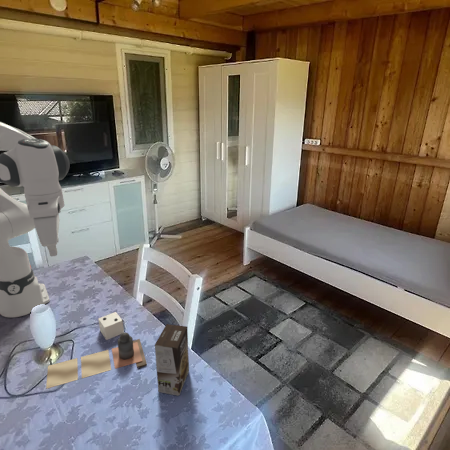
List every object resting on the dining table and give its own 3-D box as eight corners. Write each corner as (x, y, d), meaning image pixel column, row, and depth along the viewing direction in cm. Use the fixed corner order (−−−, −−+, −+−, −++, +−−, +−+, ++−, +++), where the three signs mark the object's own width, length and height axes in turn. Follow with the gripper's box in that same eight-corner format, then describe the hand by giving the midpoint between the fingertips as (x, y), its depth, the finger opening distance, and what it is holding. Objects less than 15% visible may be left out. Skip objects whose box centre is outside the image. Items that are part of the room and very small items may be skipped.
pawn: (118, 351, 102) (116, 330, 99) (132, 347, 104) (131, 327, 101) (119, 361, 99) (117, 340, 96) (134, 357, 100) (132, 336, 97)
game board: (45, 365, 98) (44, 363, 98) (139, 340, 109) (139, 338, 108) (42, 396, 88) (41, 394, 87) (147, 365, 98) (146, 363, 98)
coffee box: (180, 396, 88) (177, 348, 82) (157, 392, 89) (153, 345, 84) (190, 370, 96) (188, 325, 91) (169, 367, 98) (166, 322, 92)
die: (100, 333, 112) (98, 317, 110) (117, 326, 116) (115, 310, 113) (106, 342, 108) (104, 326, 105) (124, 335, 111) (122, 319, 109)
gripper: (35, 193, 96) (44, 236, 100) (27, 214, 78) (39, 265, 83) (59, 191, 98) (67, 233, 103) (57, 211, 80) (66, 261, 85)
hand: (54, 248), depth 93 cm, fingers open, 8 cm apart
